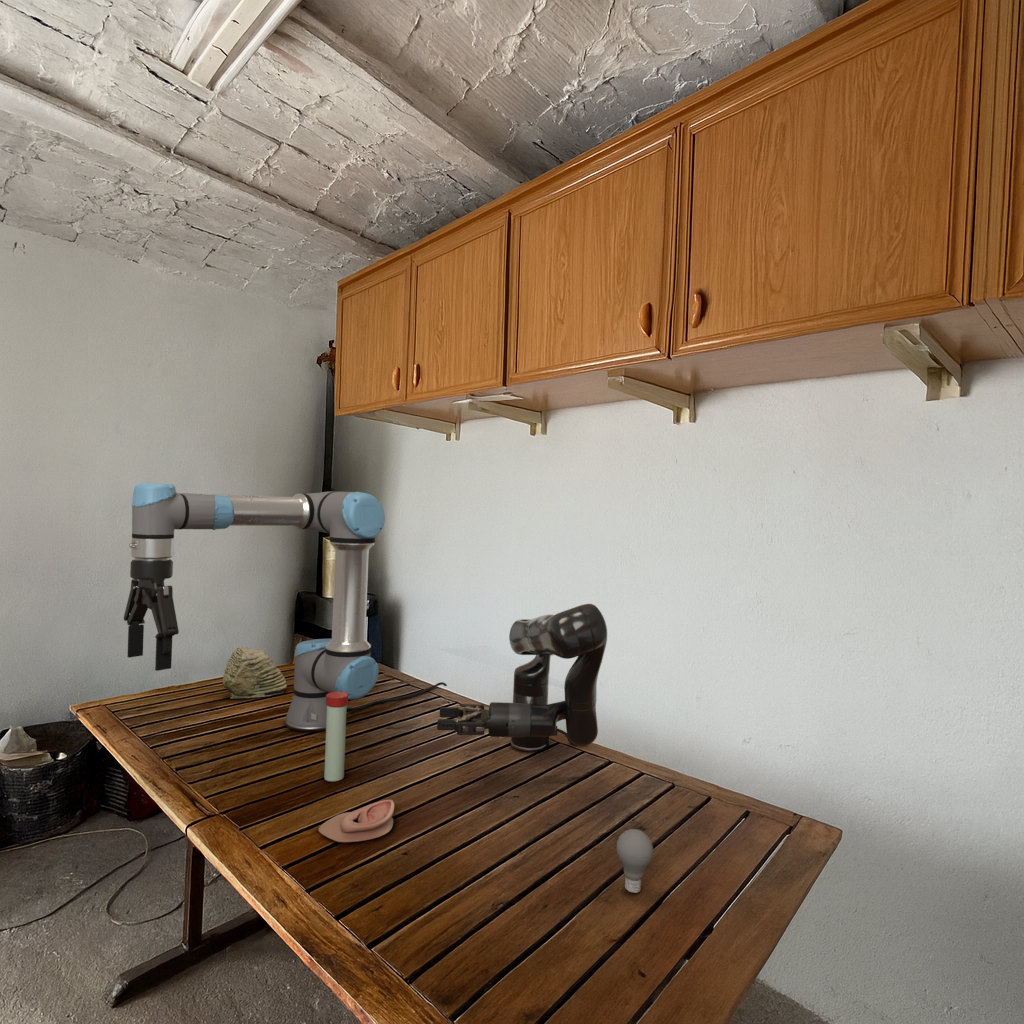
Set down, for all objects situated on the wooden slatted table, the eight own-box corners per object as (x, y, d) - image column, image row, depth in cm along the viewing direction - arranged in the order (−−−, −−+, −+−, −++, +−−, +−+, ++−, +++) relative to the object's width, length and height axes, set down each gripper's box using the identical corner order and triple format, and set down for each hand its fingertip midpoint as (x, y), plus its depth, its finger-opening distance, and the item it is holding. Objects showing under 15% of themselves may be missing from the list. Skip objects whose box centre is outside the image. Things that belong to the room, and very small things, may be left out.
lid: (350, 705, 142) (350, 696, 142) (328, 708, 140) (328, 699, 140) (345, 699, 146) (345, 690, 146) (324, 701, 144) (324, 692, 144)
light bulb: (610, 879, 108) (613, 822, 108) (644, 879, 109) (647, 822, 109) (619, 902, 102) (622, 840, 102) (655, 901, 103) (658, 840, 103)
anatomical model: (310, 816, 117) (339, 789, 129) (309, 837, 117) (338, 808, 129) (377, 827, 115) (401, 798, 126) (376, 848, 115) (400, 818, 126)
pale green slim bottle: (345, 779, 142) (348, 698, 142) (326, 782, 140) (329, 700, 140) (341, 771, 146) (344, 693, 146) (322, 774, 144) (325, 694, 144)
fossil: (218, 695, 195) (220, 647, 195) (278, 685, 208) (279, 640, 207) (228, 703, 189) (230, 653, 188) (289, 692, 201) (290, 645, 201)
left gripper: (108, 554, 134) (104, 654, 134) (159, 565, 118) (155, 678, 119) (146, 552, 140) (143, 648, 140) (199, 563, 124) (195, 671, 124)
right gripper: (508, 694, 152) (441, 692, 151) (512, 713, 138) (437, 711, 137) (507, 725, 152) (439, 724, 151) (510, 747, 138) (435, 746, 137)
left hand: (148, 662), depth 129 cm, fingers open, 13 cm apart
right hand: (438, 718), depth 144 cm, fingers open, 8 cm apart
